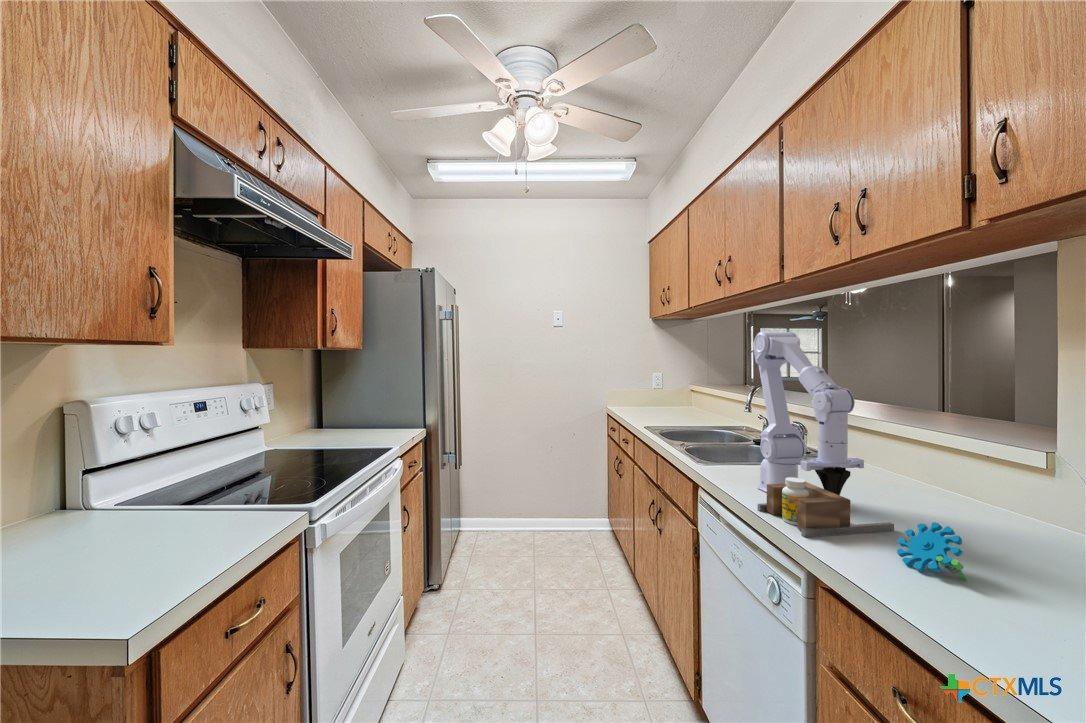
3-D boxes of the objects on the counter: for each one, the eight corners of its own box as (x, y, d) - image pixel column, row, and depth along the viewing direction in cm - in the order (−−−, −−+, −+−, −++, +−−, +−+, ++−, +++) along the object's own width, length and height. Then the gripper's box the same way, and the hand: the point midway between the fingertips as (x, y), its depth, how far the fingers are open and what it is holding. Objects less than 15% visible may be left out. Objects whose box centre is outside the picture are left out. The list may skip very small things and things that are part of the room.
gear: (882, 544, 84) (926, 510, 82) (903, 564, 84) (948, 532, 83) (926, 582, 73) (978, 544, 72) (950, 605, 74) (1002, 568, 72)
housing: (766, 510, 106) (766, 484, 106) (806, 508, 107) (806, 482, 107) (805, 533, 93) (805, 502, 93) (850, 529, 94) (850, 499, 94)
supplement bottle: (815, 524, 98) (815, 481, 98) (796, 527, 96) (796, 484, 96) (794, 515, 103) (794, 475, 103) (776, 518, 102) (776, 477, 101)
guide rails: (757, 509, 107) (757, 503, 107) (835, 505, 110) (835, 499, 110) (804, 537, 91) (804, 530, 91) (894, 530, 94) (894, 523, 94)
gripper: (816, 446, 96) (816, 507, 96) (876, 443, 98) (875, 504, 98) (794, 439, 103) (794, 497, 103) (849, 437, 105) (849, 494, 105)
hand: (832, 500), depth 101 cm, fingers closed
